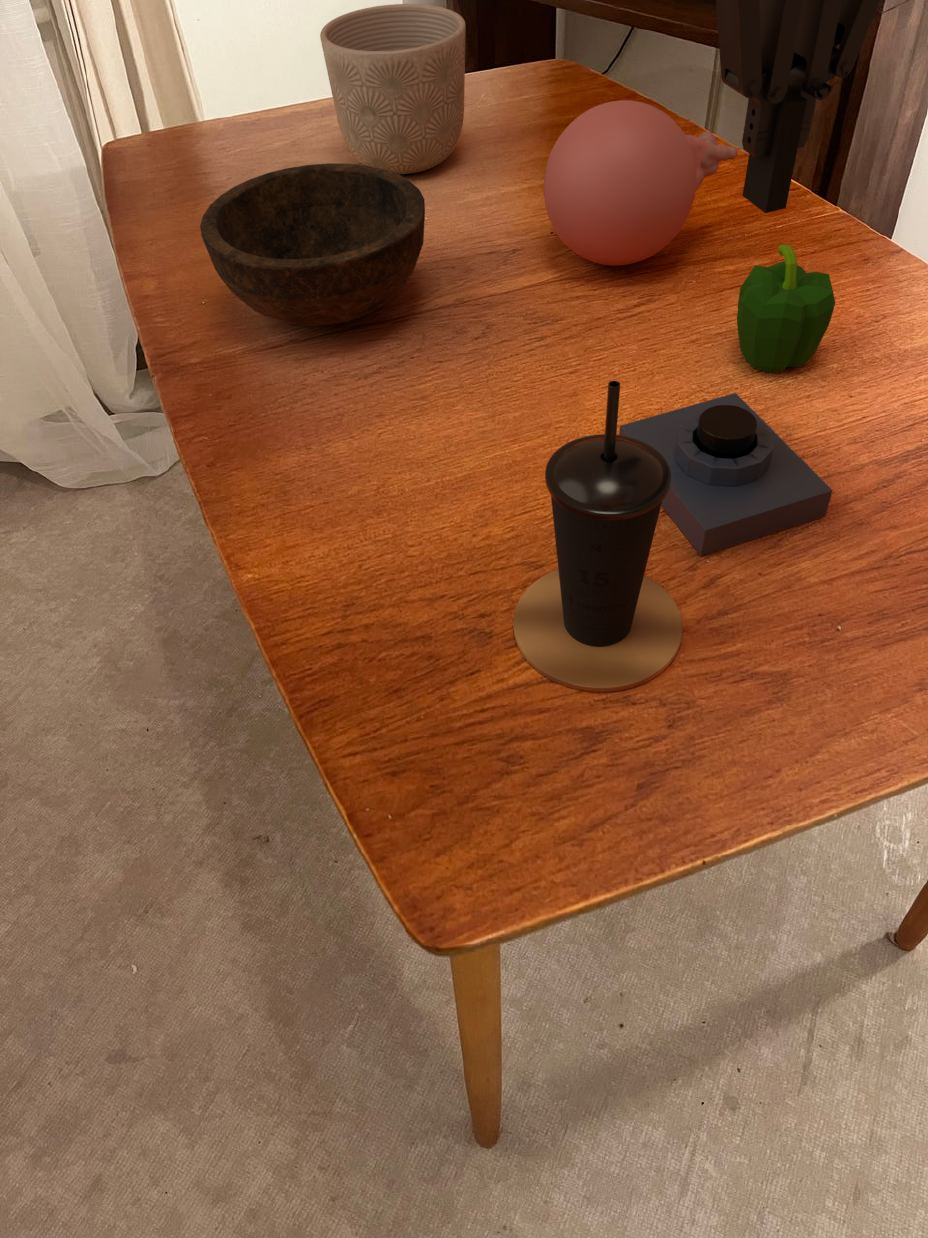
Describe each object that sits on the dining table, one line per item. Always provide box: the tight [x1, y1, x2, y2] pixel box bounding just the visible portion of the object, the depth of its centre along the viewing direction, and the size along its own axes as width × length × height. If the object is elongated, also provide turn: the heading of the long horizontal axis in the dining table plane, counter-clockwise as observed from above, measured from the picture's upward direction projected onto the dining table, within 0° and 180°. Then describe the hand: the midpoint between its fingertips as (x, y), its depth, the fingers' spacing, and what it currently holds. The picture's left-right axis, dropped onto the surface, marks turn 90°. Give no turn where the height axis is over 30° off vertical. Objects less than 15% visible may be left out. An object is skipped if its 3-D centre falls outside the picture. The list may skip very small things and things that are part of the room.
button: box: [696, 405, 757, 459], centre depth 76 cm, size 4×4×2 cm
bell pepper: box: [736, 244, 836, 374], centre depth 88 cm, size 8×8×10 cm
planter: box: [319, 3, 467, 175], centre depth 119 cm, size 17×17×15 cm
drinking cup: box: [544, 380, 671, 647], centre depth 63 cm, size 8×8×20 cm
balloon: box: [543, 99, 739, 267], centre depth 100 cm, size 15×20×15 cm
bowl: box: [199, 162, 426, 327], centre depth 98 cm, size 22×22×10 cm
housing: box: [618, 392, 833, 557], centre depth 78 cm, size 14×11×4 cm
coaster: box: [512, 568, 684, 693], centre depth 70 cm, size 12×12×1 cm
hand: (763, 201), depth 63 cm, fingers closed
